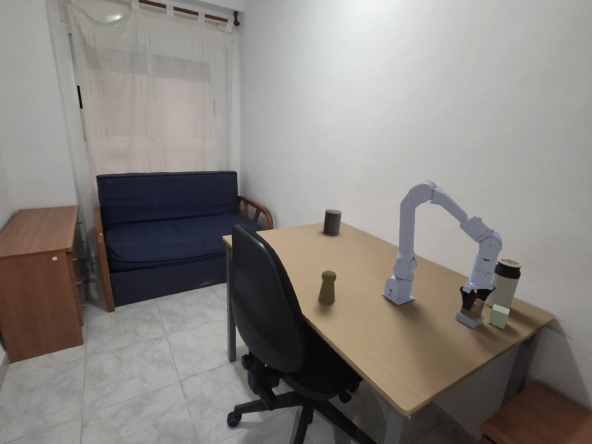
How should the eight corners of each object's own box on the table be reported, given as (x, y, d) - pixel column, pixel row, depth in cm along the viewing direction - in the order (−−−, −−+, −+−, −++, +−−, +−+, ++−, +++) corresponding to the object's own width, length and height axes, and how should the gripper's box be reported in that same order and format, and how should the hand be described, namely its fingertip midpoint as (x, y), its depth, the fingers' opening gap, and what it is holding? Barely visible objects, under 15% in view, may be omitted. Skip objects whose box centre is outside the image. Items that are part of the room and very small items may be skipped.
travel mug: (509, 314, 104) (524, 268, 99) (484, 306, 108) (497, 262, 103) (508, 304, 111) (522, 261, 106) (484, 297, 115) (496, 255, 110)
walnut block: (473, 319, 95) (477, 305, 94) (460, 312, 99) (464, 298, 97) (480, 316, 97) (485, 302, 96) (467, 308, 101) (471, 295, 99)
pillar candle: (322, 234, 173) (325, 210, 168) (323, 229, 182) (326, 206, 178) (338, 236, 172) (342, 212, 167) (339, 231, 181) (342, 208, 176)
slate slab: (473, 329, 95) (475, 321, 94) (455, 319, 100) (457, 312, 99) (481, 323, 98) (484, 316, 98) (463, 314, 103) (465, 307, 102)
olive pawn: (324, 305, 102) (327, 277, 99) (315, 296, 107) (317, 269, 104) (338, 302, 105) (341, 274, 102) (328, 293, 110) (331, 267, 107)
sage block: (503, 329, 96) (508, 315, 94) (487, 323, 99) (492, 309, 97) (505, 323, 99) (509, 309, 98) (489, 317, 102) (494, 303, 100)
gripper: (483, 279, 86) (472, 318, 90) (508, 270, 94) (496, 307, 98) (460, 269, 92) (451, 306, 96) (485, 261, 99) (475, 296, 103)
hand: (472, 306), depth 97 cm, fingers open, 7 cm apart
